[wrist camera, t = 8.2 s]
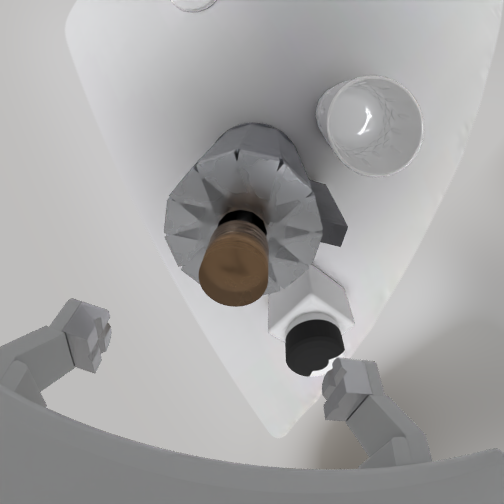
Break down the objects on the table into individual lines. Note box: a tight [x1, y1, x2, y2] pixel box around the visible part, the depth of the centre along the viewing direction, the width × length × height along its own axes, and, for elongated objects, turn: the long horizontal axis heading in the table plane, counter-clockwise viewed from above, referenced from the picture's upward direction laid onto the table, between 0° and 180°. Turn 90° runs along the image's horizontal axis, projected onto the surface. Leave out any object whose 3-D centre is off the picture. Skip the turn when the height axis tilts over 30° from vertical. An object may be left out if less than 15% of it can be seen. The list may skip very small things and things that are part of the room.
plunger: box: [199, 209, 269, 306], centre depth 23 cm, size 7×7×18 cm
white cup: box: [315, 75, 424, 177], centre depth 25 cm, size 8×8×10 cm
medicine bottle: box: [268, 265, 355, 377], centre depth 35 cm, size 7×7×12 cm
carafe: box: [164, 123, 348, 295], centre depth 26 cm, size 10×12×16 cm
